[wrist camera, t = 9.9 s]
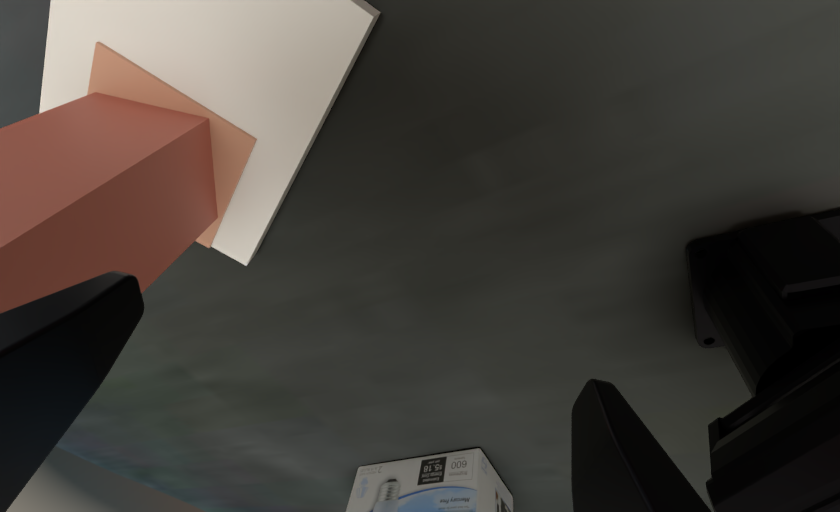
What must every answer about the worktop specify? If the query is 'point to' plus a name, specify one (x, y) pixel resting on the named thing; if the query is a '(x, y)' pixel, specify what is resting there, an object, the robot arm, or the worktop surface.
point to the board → (217, 84)
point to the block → (100, 194)
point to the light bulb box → (431, 485)
